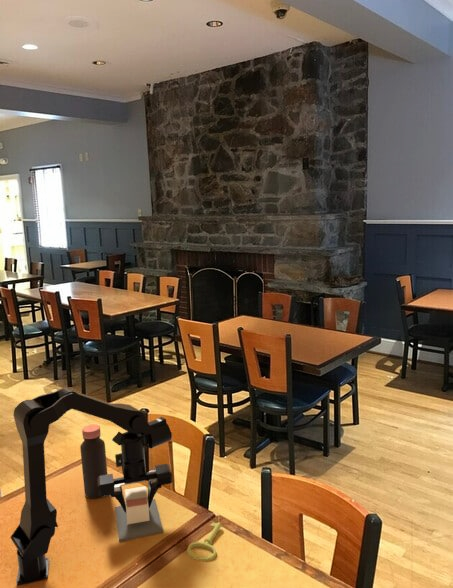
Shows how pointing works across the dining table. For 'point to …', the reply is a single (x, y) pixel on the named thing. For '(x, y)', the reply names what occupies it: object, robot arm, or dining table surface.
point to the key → (205, 544)
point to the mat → (138, 524)
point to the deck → (137, 505)
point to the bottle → (92, 459)
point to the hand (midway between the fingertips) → (137, 509)
